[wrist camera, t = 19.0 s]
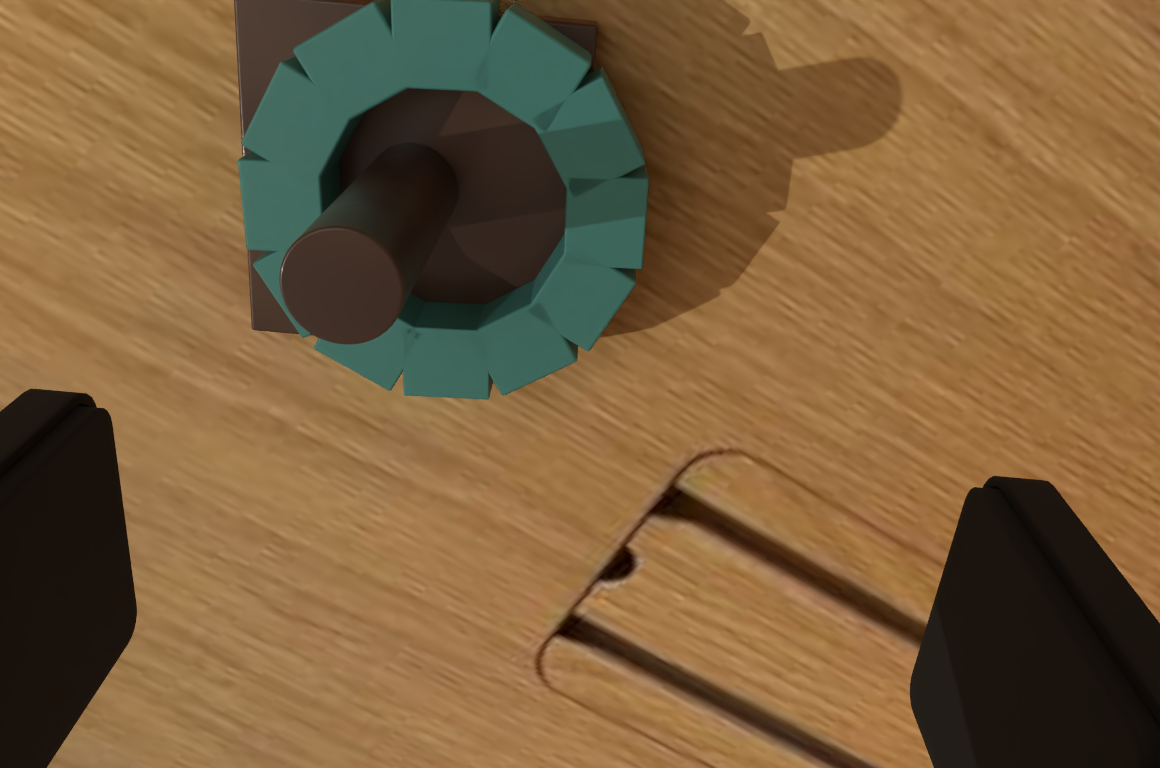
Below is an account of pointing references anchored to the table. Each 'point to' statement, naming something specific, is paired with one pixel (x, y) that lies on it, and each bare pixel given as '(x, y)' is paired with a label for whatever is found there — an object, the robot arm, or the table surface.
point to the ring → (520, 86)
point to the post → (405, 193)
